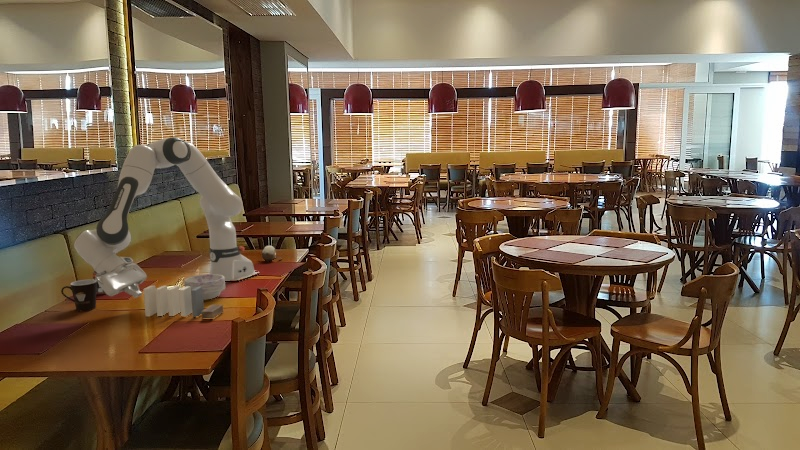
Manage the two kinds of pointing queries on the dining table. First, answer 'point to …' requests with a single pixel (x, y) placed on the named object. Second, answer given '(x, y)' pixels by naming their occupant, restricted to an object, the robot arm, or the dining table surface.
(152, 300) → the domino
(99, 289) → the supplement bottle
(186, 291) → the domino
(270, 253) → the skull
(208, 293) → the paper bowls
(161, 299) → the domino
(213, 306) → the end block
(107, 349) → the dining table surface
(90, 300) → the coffee mug
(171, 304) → the domino
